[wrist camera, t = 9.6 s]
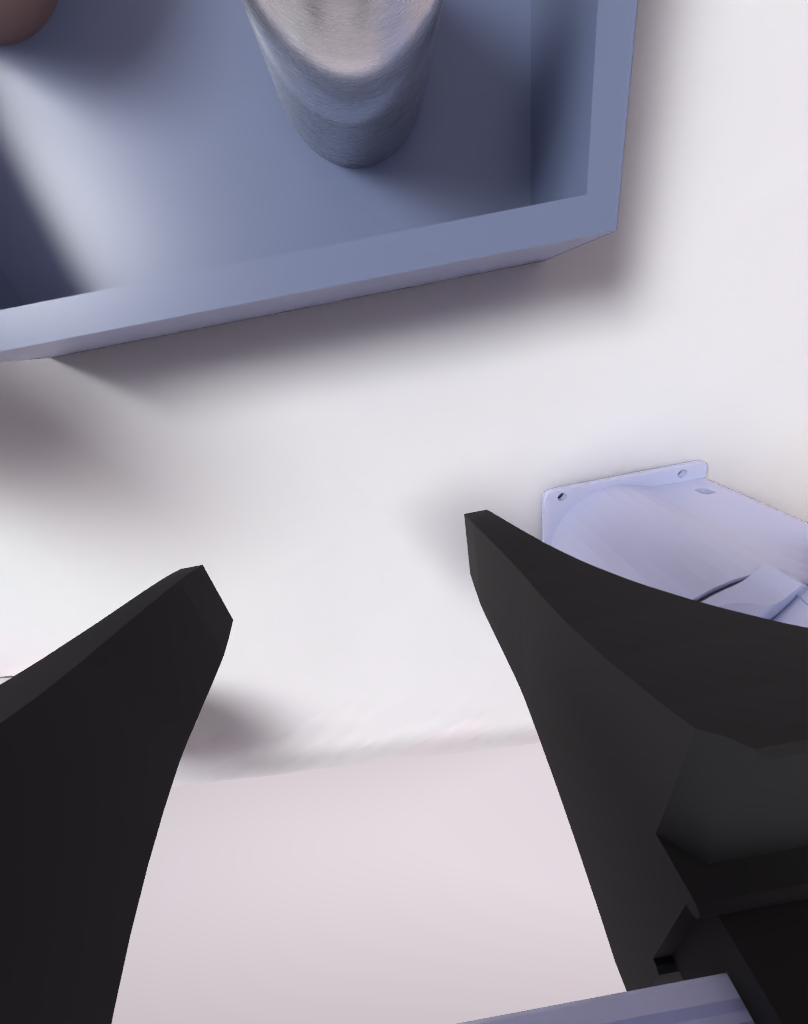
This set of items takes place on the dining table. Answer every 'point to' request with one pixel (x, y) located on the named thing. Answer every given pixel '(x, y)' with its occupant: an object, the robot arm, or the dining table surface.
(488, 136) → the slate blue tote
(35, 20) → the peach round blob
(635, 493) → the robot arm
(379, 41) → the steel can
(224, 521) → the dining table surface
